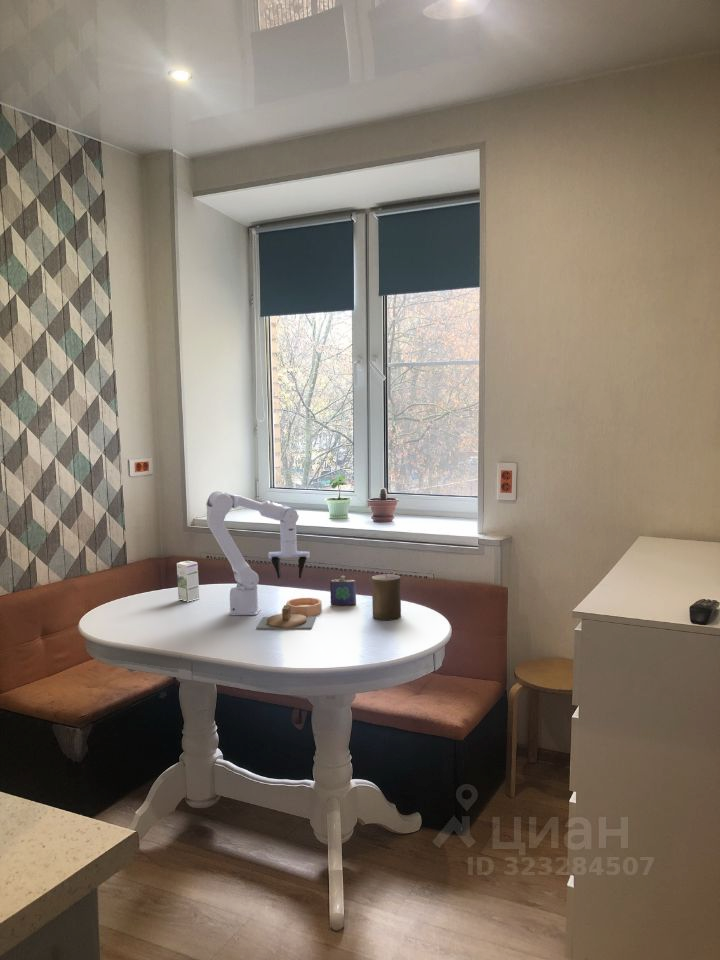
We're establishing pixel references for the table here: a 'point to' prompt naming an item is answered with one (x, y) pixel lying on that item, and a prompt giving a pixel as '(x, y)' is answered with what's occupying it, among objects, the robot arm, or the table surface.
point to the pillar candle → (386, 596)
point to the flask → (343, 592)
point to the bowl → (305, 606)
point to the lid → (286, 619)
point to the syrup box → (188, 580)
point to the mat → (306, 625)
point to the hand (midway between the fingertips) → (289, 577)
